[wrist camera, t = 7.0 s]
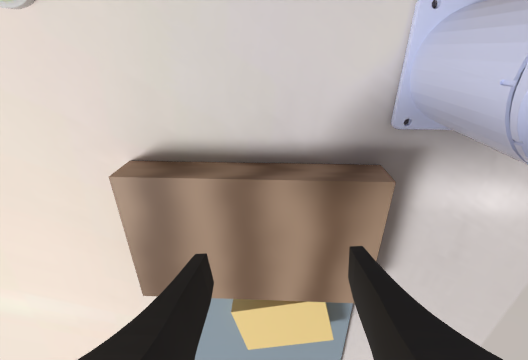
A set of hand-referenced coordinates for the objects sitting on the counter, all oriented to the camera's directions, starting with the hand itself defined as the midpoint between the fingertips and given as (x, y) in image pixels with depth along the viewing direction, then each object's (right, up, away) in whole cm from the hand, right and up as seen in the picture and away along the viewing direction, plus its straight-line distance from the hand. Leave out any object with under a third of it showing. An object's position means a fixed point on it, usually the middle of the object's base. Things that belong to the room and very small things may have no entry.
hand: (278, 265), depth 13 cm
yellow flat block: (+1, -9, +14) cm, 17 cm away
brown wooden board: (-2, 0, +10) cm, 10 cm away
